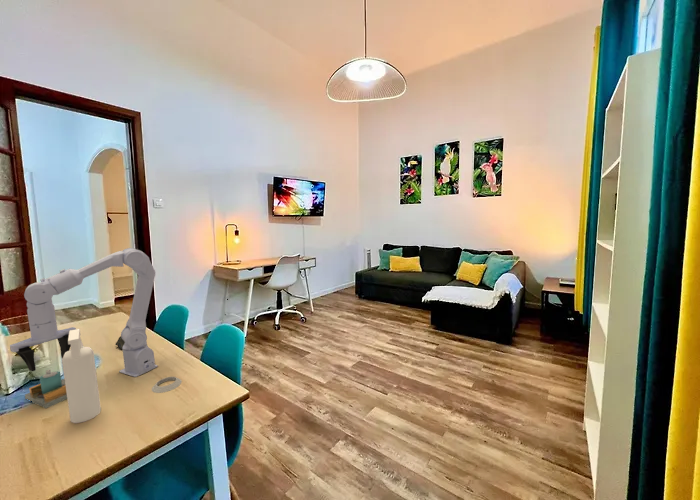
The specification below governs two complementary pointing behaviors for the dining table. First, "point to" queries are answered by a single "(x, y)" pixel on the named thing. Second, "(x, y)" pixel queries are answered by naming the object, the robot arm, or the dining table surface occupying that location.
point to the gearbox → (47, 395)
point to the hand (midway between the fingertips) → (49, 364)
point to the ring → (169, 387)
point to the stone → (120, 342)
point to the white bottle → (80, 380)
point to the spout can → (50, 381)
